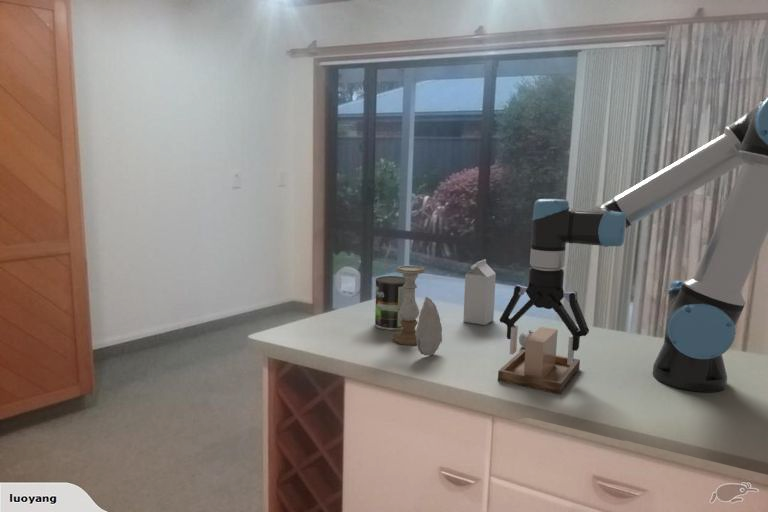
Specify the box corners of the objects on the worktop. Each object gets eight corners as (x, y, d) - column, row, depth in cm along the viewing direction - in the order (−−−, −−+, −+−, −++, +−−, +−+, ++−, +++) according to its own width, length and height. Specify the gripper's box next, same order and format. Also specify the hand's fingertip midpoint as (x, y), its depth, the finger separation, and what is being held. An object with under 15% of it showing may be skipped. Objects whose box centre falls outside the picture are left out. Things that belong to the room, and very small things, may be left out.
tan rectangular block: (555, 365, 139) (557, 329, 138) (541, 381, 129) (543, 342, 127) (538, 362, 141) (540, 326, 140) (523, 377, 131) (525, 339, 129)
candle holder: (429, 343, 157) (432, 269, 153) (400, 346, 154) (401, 271, 150) (416, 334, 165) (418, 264, 161) (387, 337, 162) (389, 265, 158)
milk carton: (493, 320, 180) (496, 260, 177) (484, 325, 174) (487, 263, 171) (472, 316, 184) (475, 258, 181) (463, 322, 178) (465, 261, 175)
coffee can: (380, 331, 167) (381, 283, 164) (370, 321, 176) (371, 276, 174) (414, 329, 170) (415, 282, 168) (402, 319, 180) (403, 275, 177)
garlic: (538, 353, 151) (539, 333, 150) (517, 350, 152) (518, 331, 152) (540, 346, 156) (541, 327, 155) (519, 343, 158) (520, 325, 157)
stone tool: (422, 361, 143) (424, 302, 140) (412, 358, 145) (413, 299, 142) (443, 352, 150) (445, 295, 147) (433, 349, 152) (435, 293, 149)
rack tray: (579, 369, 139) (579, 359, 139) (560, 394, 124) (561, 383, 123) (522, 358, 146) (522, 349, 146) (497, 380, 131) (498, 370, 130)
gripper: (607, 271, 128) (599, 363, 131) (499, 259, 140) (495, 344, 144) (600, 276, 121) (593, 373, 125) (488, 264, 134) (484, 352, 137)
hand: (540, 358), depth 134 cm, fingers open, 13 cm apart
